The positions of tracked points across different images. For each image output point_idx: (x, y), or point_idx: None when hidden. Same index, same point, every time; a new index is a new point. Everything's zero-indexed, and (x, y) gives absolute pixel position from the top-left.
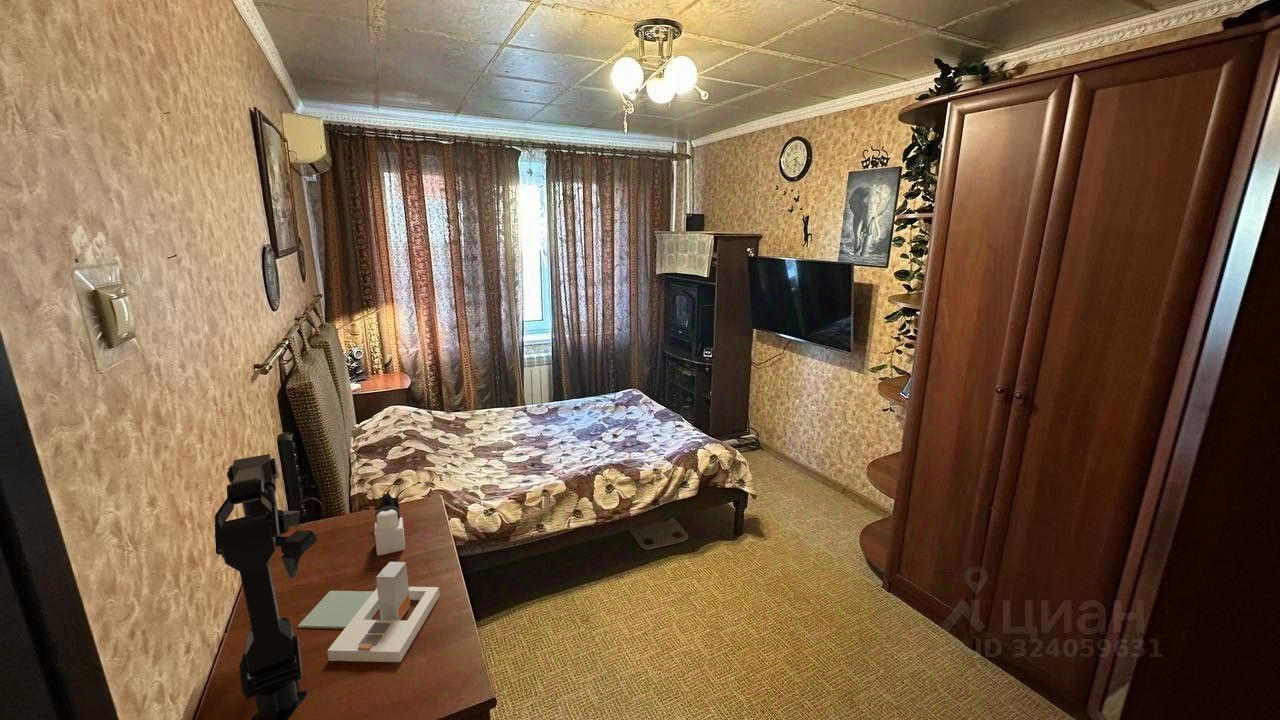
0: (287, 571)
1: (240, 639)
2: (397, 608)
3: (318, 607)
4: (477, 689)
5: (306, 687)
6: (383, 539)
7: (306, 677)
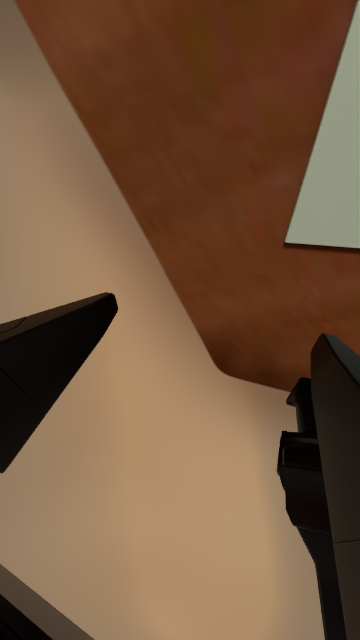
0: (320, 421)
1: (175, 266)
2: None
3: (329, 147)
4: None
5: None
6: None
7: None
